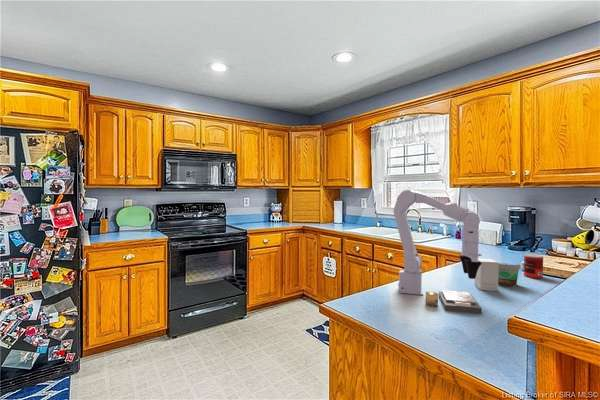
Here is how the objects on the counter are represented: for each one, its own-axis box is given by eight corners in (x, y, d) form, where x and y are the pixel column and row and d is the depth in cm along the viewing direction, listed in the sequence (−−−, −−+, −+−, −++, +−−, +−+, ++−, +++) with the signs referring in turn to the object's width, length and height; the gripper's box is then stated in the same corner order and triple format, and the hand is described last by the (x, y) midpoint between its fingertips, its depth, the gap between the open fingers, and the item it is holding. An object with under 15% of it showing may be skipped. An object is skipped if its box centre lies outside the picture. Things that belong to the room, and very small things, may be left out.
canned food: (541, 275, 157) (542, 254, 157) (543, 279, 151) (544, 257, 150) (523, 273, 161) (523, 252, 161) (524, 277, 155) (524, 255, 154)
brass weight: (426, 306, 118) (426, 294, 117) (424, 302, 122) (425, 290, 122) (438, 307, 116) (438, 295, 116) (437, 303, 121) (437, 291, 120)
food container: (491, 285, 142) (492, 263, 142) (489, 281, 148) (489, 261, 147) (523, 288, 138) (524, 266, 137) (519, 284, 143) (520, 263, 143)
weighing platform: (446, 300, 117) (446, 299, 117) (441, 291, 127) (441, 290, 127) (476, 303, 114) (476, 302, 114) (468, 293, 124) (468, 292, 124)
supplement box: (498, 291, 134) (499, 262, 134) (479, 290, 136) (480, 261, 135) (491, 285, 142) (492, 258, 141) (474, 284, 143) (474, 257, 143)
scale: (445, 310, 114) (445, 301, 114) (438, 296, 128) (438, 288, 128) (481, 313, 110) (481, 305, 110) (471, 299, 125) (471, 291, 125)
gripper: (487, 245, 115) (486, 281, 116) (476, 239, 129) (475, 271, 130) (466, 244, 117) (465, 280, 118) (457, 238, 131) (456, 270, 132)
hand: (469, 275), depth 124 cm, fingers open, 7 cm apart
